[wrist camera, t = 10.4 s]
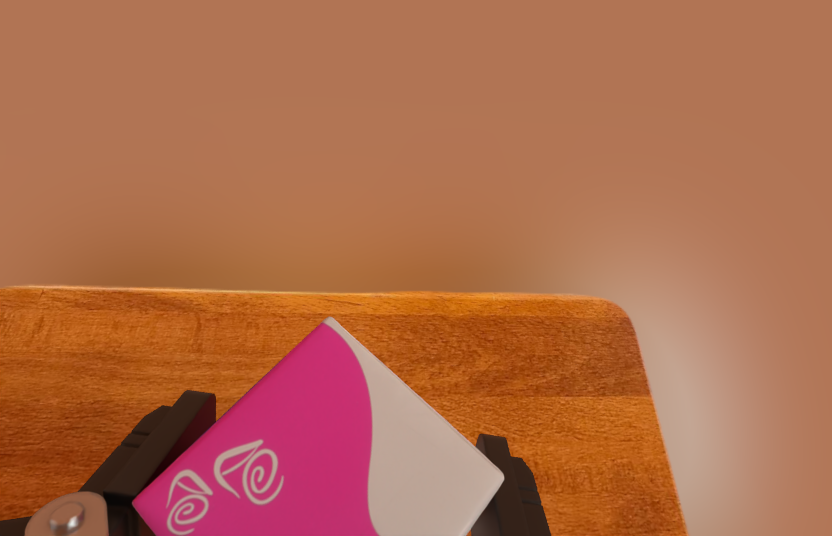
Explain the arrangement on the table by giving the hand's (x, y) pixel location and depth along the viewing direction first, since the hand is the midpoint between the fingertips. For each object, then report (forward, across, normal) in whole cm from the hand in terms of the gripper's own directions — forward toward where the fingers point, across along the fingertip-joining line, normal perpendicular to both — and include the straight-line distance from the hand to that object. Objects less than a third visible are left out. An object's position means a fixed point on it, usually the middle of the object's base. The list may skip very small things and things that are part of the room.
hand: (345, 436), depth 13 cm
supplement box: (+5, 0, +7) cm, 8 cm away
